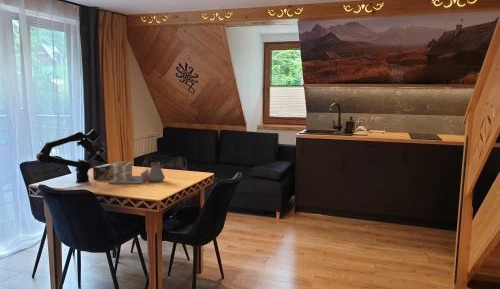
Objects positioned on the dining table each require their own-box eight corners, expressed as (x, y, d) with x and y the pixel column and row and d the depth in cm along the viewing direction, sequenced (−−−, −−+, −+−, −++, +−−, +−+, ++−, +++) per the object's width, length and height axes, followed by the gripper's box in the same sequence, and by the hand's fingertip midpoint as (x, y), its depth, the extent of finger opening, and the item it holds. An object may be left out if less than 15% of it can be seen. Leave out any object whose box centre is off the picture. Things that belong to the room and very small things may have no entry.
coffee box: (112, 163, 272) (92, 166, 258) (118, 164, 268) (98, 167, 255) (113, 175, 273) (93, 179, 260) (118, 176, 269) (98, 180, 256)
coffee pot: (143, 182, 253) (143, 160, 251) (157, 179, 262) (156, 157, 260) (165, 186, 240) (164, 163, 238) (178, 183, 250) (178, 161, 248)
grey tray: (108, 184, 246) (108, 173, 245) (117, 178, 264) (117, 168, 263) (142, 184, 246) (142, 173, 245) (149, 178, 264) (149, 168, 263)
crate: (113, 181, 249) (112, 165, 247) (119, 177, 260) (118, 161, 259) (126, 181, 249) (126, 165, 247) (132, 177, 261) (131, 161, 259)
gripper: (91, 139, 241) (109, 156, 243) (101, 136, 260) (118, 152, 262) (79, 151, 242) (97, 168, 244) (91, 147, 261) (107, 163, 262)
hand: (105, 162), depth 253 cm, fingers closed
